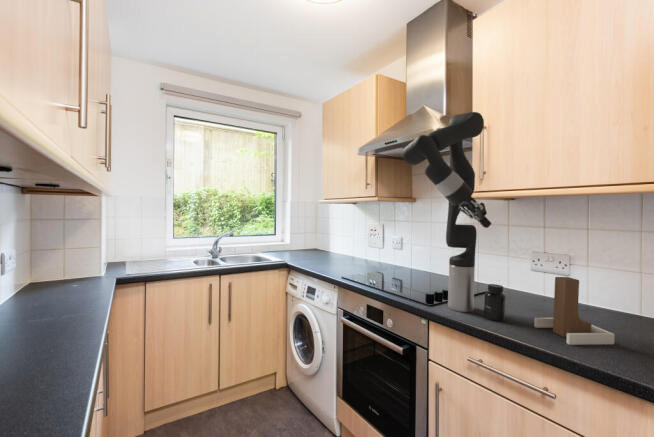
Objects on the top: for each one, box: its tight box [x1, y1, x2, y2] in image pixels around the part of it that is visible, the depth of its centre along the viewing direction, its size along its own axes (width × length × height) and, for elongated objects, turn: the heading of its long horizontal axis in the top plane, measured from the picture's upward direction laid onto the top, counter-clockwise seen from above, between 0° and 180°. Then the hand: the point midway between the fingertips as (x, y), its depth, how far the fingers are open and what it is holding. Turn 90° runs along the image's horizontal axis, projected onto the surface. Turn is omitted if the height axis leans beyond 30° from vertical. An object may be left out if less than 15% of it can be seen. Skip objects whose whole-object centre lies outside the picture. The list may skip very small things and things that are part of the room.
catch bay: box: [533, 317, 615, 346], centre depth 98 cm, size 14×14×3 cm
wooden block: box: [552, 276, 592, 338], centre depth 98 cm, size 9×4×18 cm, turn 92°
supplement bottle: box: [483, 283, 507, 322], centre depth 112 cm, size 7×7×12 cm
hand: (488, 225), depth 101 cm, fingers closed
